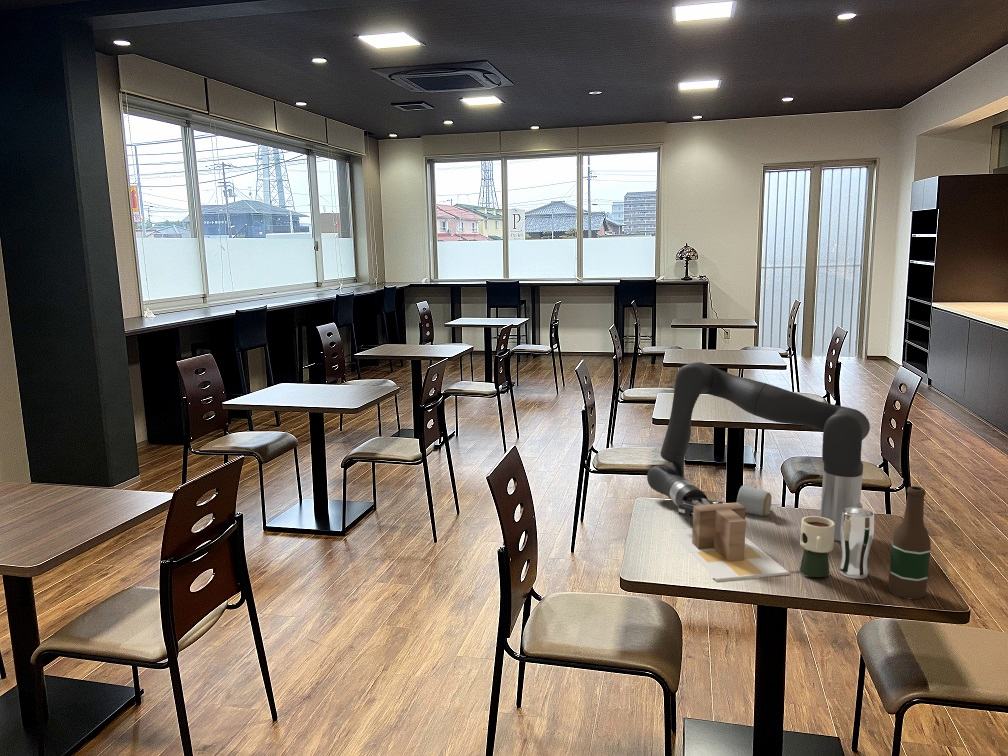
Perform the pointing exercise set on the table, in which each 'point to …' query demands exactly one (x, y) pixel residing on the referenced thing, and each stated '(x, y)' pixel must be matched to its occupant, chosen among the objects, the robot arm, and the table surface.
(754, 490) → the grey cylinder
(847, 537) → the beer glass
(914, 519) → the beer bottle
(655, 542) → the table surface
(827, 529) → the character mug
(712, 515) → the t block
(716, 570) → the board
